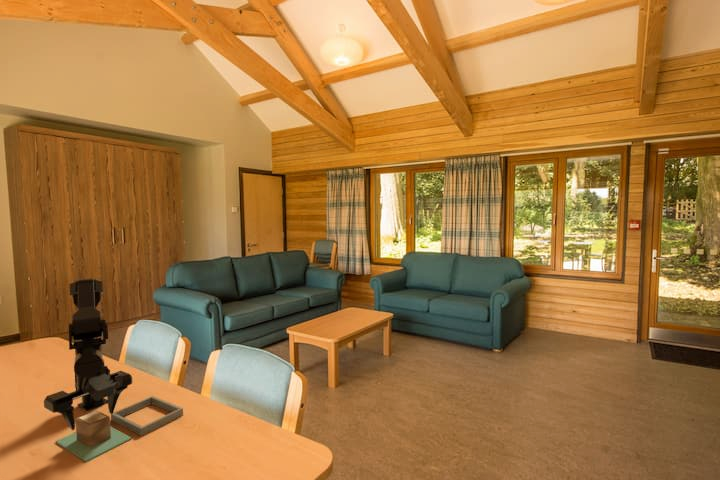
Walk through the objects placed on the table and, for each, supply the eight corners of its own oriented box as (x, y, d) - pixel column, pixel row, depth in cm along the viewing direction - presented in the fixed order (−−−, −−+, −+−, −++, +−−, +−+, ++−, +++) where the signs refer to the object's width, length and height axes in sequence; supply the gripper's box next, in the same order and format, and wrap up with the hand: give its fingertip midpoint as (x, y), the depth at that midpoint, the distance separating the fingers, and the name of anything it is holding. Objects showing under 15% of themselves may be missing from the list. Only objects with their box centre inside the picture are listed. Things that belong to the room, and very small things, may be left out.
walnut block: (90, 448, 99) (88, 425, 99) (76, 440, 103) (75, 417, 102) (110, 438, 103) (109, 416, 103) (97, 430, 107) (96, 409, 106)
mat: (55, 442, 102) (55, 440, 102) (100, 422, 112) (100, 421, 112) (85, 462, 94) (85, 460, 94) (131, 439, 104) (131, 437, 104)
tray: (111, 420, 113) (110, 413, 113) (152, 401, 124) (152, 395, 124) (141, 435, 105) (141, 428, 105) (183, 414, 116) (183, 408, 116)
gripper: (62, 384, 89) (66, 449, 90) (142, 358, 105) (145, 413, 106) (41, 374, 95) (45, 435, 96) (120, 350, 111) (122, 403, 112)
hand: (92, 421), depth 102 cm, fingers open, 9 cm apart
